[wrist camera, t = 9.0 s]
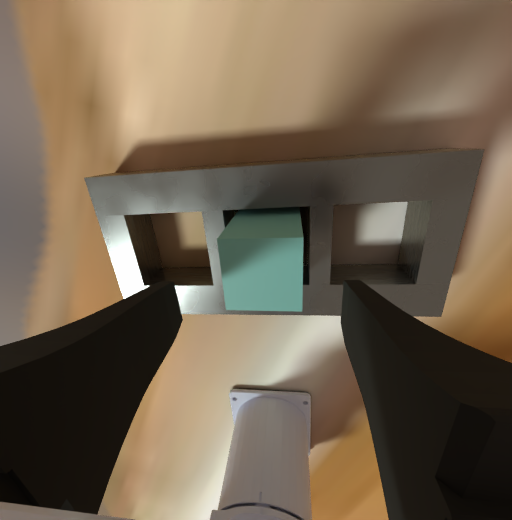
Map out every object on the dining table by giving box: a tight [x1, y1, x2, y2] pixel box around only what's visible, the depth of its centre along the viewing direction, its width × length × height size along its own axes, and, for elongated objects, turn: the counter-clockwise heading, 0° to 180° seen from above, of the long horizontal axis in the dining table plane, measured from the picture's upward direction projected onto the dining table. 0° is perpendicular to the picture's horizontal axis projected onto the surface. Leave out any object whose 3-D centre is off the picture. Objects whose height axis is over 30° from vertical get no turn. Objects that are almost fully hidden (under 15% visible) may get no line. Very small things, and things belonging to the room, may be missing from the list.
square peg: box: [217, 207, 303, 312], centre depth 16 cm, size 4×4×7 cm
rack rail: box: [84, 148, 484, 317], centre depth 18 cm, size 10×22×3 cm, turn 94°
